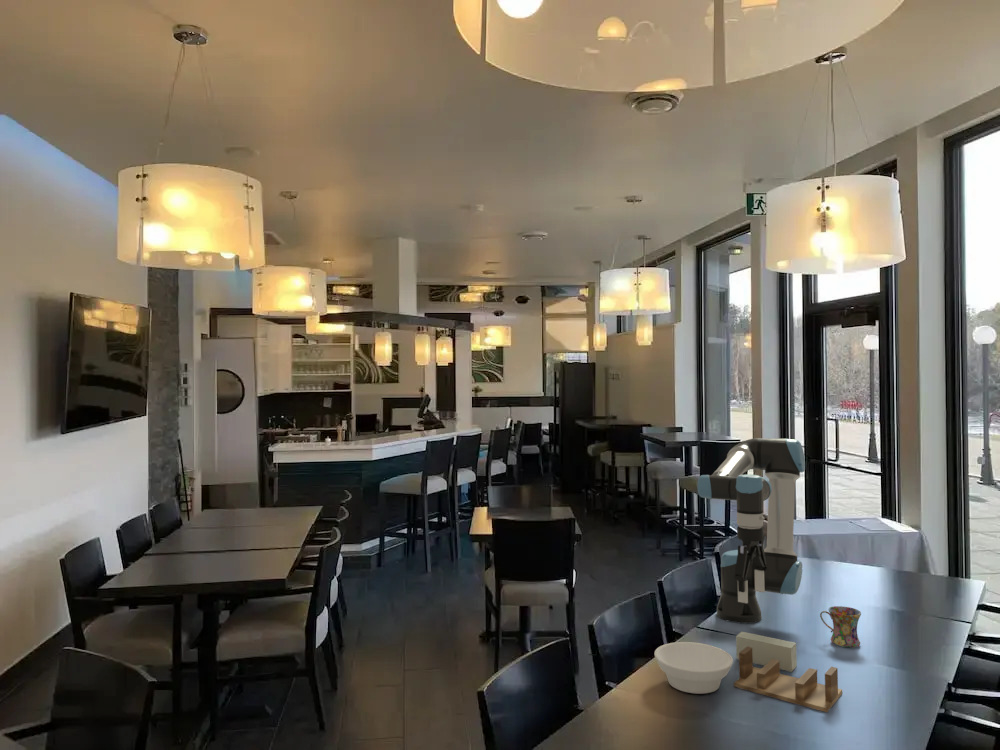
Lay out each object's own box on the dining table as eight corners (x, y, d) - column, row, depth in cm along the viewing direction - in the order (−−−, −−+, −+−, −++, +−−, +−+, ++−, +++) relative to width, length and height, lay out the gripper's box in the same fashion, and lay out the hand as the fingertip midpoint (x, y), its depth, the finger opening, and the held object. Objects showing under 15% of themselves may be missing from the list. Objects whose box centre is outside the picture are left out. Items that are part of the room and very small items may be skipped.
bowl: (722, 709, 176) (722, 677, 176) (643, 691, 187) (643, 661, 187) (741, 679, 193) (741, 650, 194) (668, 664, 205) (668, 636, 205)
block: (736, 659, 208) (736, 636, 208) (742, 654, 212) (741, 631, 212) (791, 672, 198) (791, 648, 198) (796, 666, 202) (796, 642, 202)
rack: (733, 686, 189) (733, 657, 189) (752, 670, 199) (752, 642, 199) (827, 712, 173) (826, 680, 173) (842, 693, 184) (841, 663, 184)
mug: (864, 643, 219) (864, 609, 219) (858, 652, 212) (857, 617, 212) (824, 635, 226) (823, 602, 227) (816, 643, 219) (816, 610, 219)
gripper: (746, 535, 196) (748, 609, 196) (776, 521, 215) (778, 589, 215) (721, 531, 201) (722, 604, 201) (753, 518, 220) (754, 585, 220)
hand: (751, 596), depth 208 cm, fingers open, 13 cm apart
